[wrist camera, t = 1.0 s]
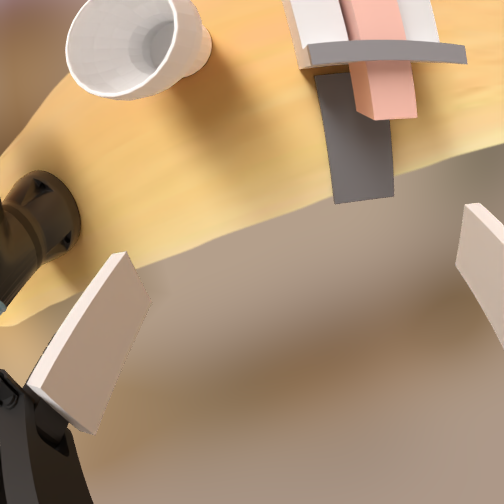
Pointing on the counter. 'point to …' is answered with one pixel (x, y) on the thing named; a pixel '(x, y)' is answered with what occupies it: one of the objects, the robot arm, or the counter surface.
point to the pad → (354, 143)
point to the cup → (135, 46)
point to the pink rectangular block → (379, 61)
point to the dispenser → (344, 51)
